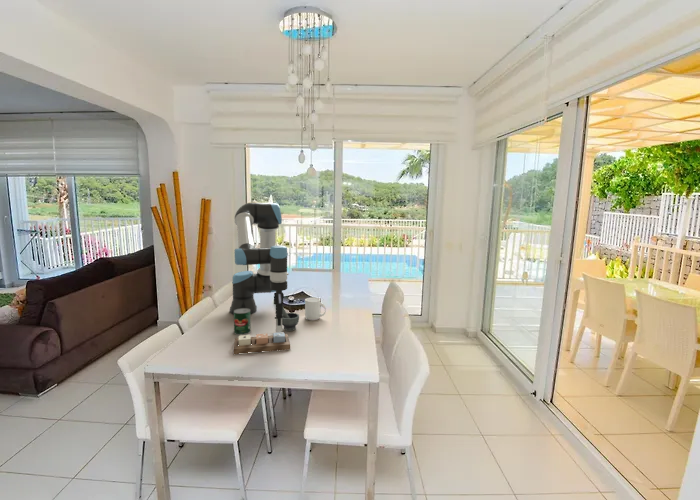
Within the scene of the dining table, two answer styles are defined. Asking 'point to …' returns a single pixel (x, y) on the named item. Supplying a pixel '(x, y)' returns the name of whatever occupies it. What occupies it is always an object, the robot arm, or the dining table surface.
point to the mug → (313, 308)
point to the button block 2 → (261, 338)
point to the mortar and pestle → (289, 320)
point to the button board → (261, 345)
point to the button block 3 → (278, 337)
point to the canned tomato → (242, 321)
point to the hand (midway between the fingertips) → (279, 331)
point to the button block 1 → (244, 340)
